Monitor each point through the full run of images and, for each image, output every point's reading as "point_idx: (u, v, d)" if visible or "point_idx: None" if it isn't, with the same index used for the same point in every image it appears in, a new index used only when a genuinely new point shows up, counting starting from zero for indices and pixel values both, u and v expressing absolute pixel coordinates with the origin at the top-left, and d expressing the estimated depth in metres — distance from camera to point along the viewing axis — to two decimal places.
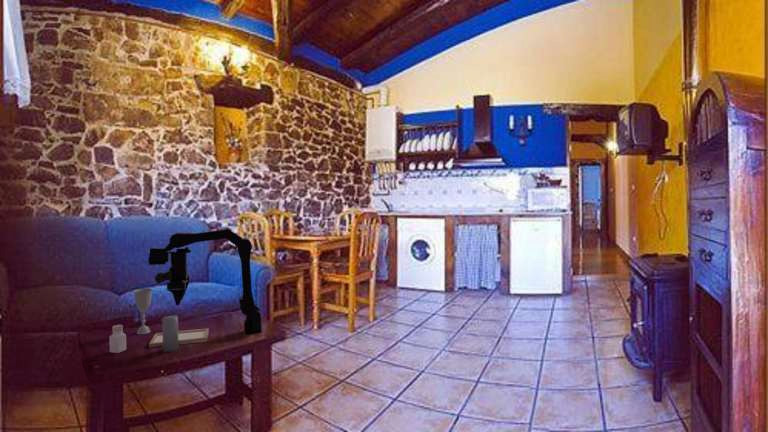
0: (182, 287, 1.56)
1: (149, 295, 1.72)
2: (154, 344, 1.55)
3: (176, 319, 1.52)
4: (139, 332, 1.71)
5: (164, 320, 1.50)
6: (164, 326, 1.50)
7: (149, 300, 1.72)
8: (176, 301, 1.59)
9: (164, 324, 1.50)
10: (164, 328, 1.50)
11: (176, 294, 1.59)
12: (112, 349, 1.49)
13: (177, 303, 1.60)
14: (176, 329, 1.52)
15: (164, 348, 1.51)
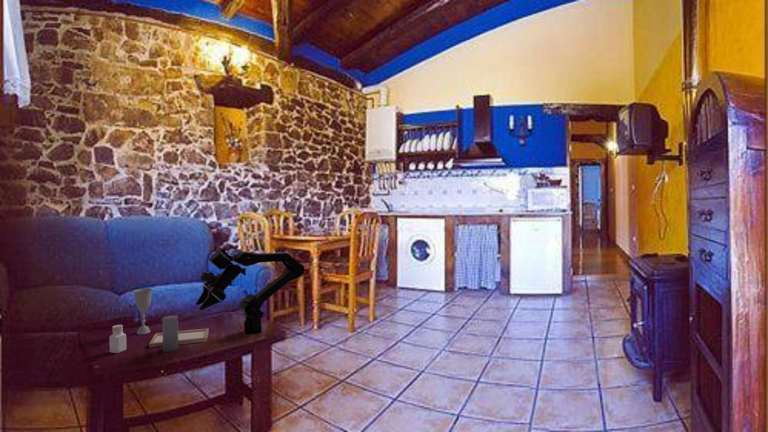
0: (222, 299, 1.57)
1: (149, 295, 1.72)
2: (154, 344, 1.55)
3: (176, 319, 1.52)
4: (139, 332, 1.71)
5: (164, 320, 1.50)
6: (164, 326, 1.50)
7: (149, 300, 1.72)
8: (203, 305, 1.57)
9: (164, 324, 1.50)
10: (164, 328, 1.50)
11: (209, 300, 1.58)
12: (112, 349, 1.49)
13: (202, 307, 1.57)
14: (176, 329, 1.52)
15: (164, 348, 1.51)
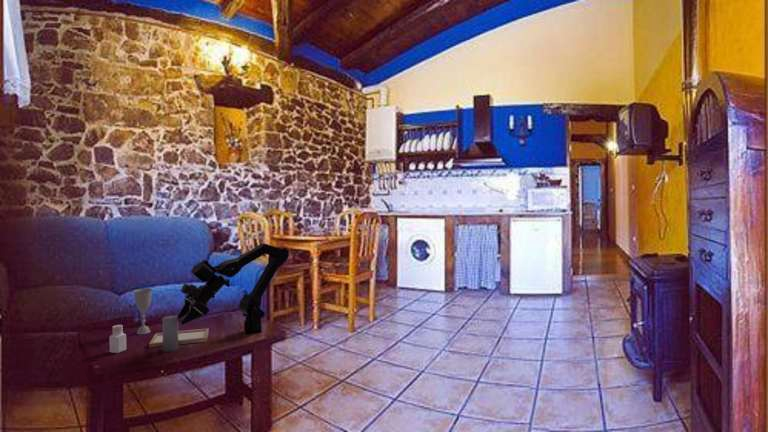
0: (204, 313, 1.51)
1: (149, 295, 1.72)
2: (154, 344, 1.55)
3: (176, 319, 1.52)
4: (139, 332, 1.71)
5: (164, 320, 1.50)
6: (164, 326, 1.50)
7: (149, 300, 1.72)
8: (184, 320, 1.51)
9: (164, 324, 1.50)
10: (164, 328, 1.50)
11: (191, 314, 1.51)
12: (112, 349, 1.49)
13: (183, 322, 1.51)
14: (176, 329, 1.52)
15: (164, 348, 1.51)
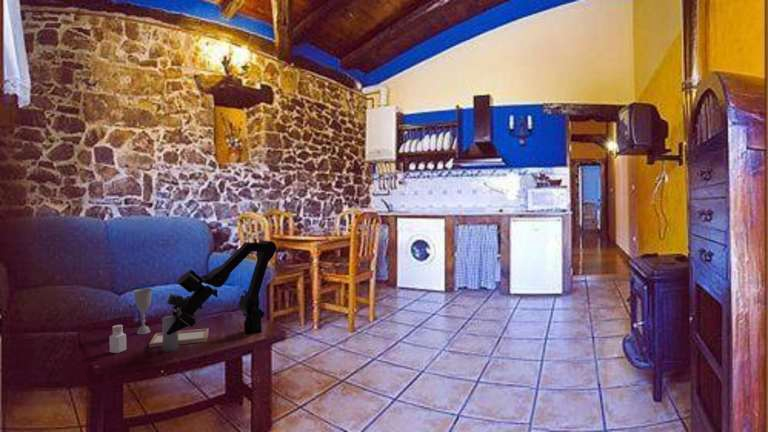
0: (191, 325, 1.48)
1: (149, 295, 1.72)
2: (154, 344, 1.55)
3: None
4: (139, 332, 1.71)
5: (164, 320, 1.50)
6: (164, 326, 1.50)
7: (149, 300, 1.72)
8: (170, 330, 1.50)
9: (164, 324, 1.50)
10: (164, 328, 1.50)
11: (177, 324, 1.50)
12: (112, 349, 1.49)
13: (169, 332, 1.50)
14: None
15: (164, 348, 1.51)
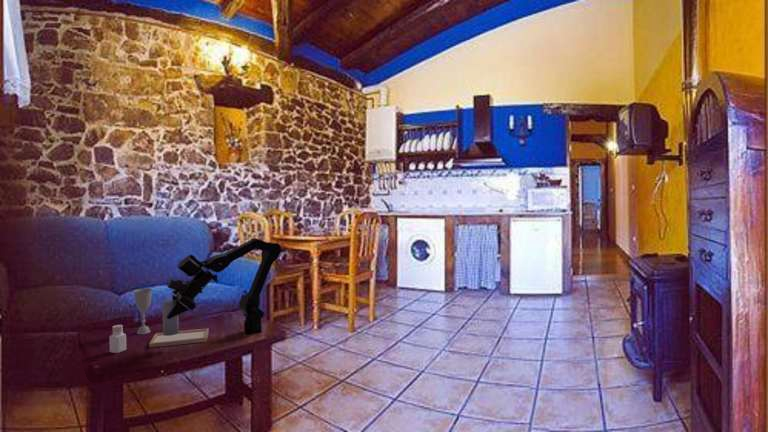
0: (191, 308, 1.49)
1: (149, 295, 1.72)
2: (154, 344, 1.55)
3: None
4: (139, 332, 1.71)
5: (164, 304, 1.50)
6: (164, 310, 1.51)
7: (149, 300, 1.72)
8: (170, 314, 1.50)
9: (164, 308, 1.51)
10: (164, 312, 1.51)
11: (177, 308, 1.51)
12: (112, 349, 1.49)
13: (169, 316, 1.50)
14: None
15: (164, 332, 1.51)
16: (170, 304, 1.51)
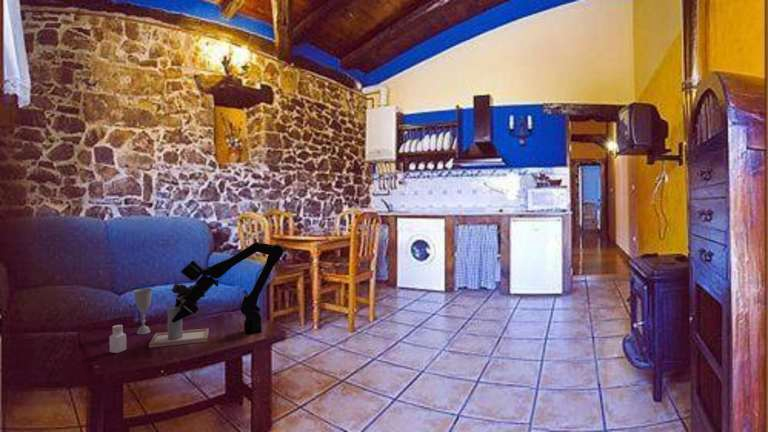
0: (194, 311, 1.59)
1: (149, 295, 1.72)
2: (154, 344, 1.55)
3: None
4: (139, 332, 1.71)
5: (169, 310, 1.61)
6: (169, 316, 1.61)
7: (149, 300, 1.72)
8: (175, 318, 1.58)
9: (169, 314, 1.61)
10: (169, 318, 1.61)
11: (181, 312, 1.59)
12: (112, 349, 1.49)
13: (174, 320, 1.58)
14: None
15: (169, 336, 1.61)
16: (175, 310, 1.61)
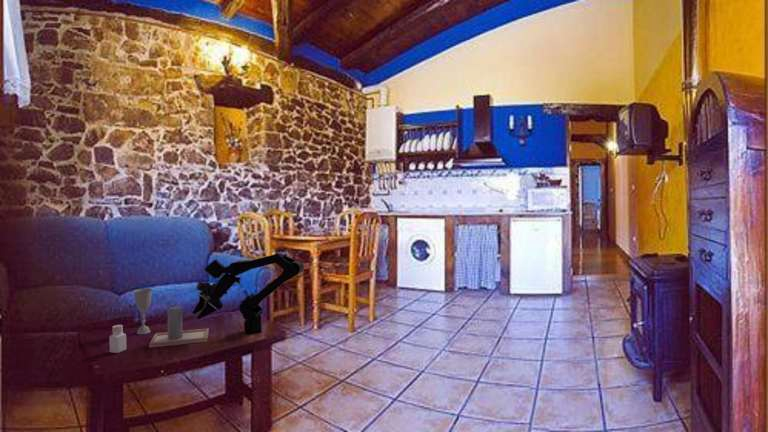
0: (219, 308, 1.64)
1: (149, 295, 1.72)
2: (154, 344, 1.55)
3: (180, 309, 1.63)
4: (139, 332, 1.71)
5: (169, 310, 1.60)
6: (169, 316, 1.61)
7: (149, 300, 1.72)
8: (200, 314, 1.63)
9: (169, 314, 1.61)
10: (169, 318, 1.61)
11: (206, 309, 1.64)
12: (112, 349, 1.49)
13: (199, 316, 1.63)
14: (180, 319, 1.63)
15: (169, 336, 1.61)
16: (175, 310, 1.61)
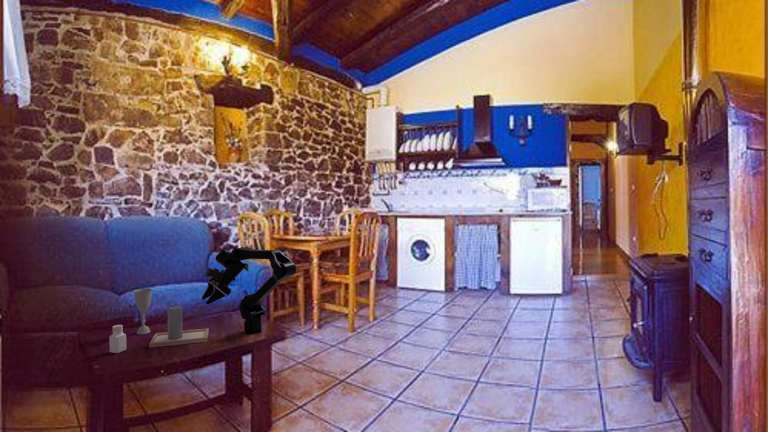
0: (227, 294, 1.67)
1: (149, 295, 1.72)
2: (154, 344, 1.55)
3: (180, 309, 1.63)
4: (139, 332, 1.71)
5: (169, 310, 1.61)
6: (169, 316, 1.61)
7: (149, 300, 1.72)
8: (209, 300, 1.67)
9: (169, 314, 1.61)
10: (169, 318, 1.61)
11: (215, 294, 1.68)
12: (112, 349, 1.49)
13: (208, 302, 1.67)
14: (180, 319, 1.63)
15: (169, 336, 1.61)
16: (175, 310, 1.61)
